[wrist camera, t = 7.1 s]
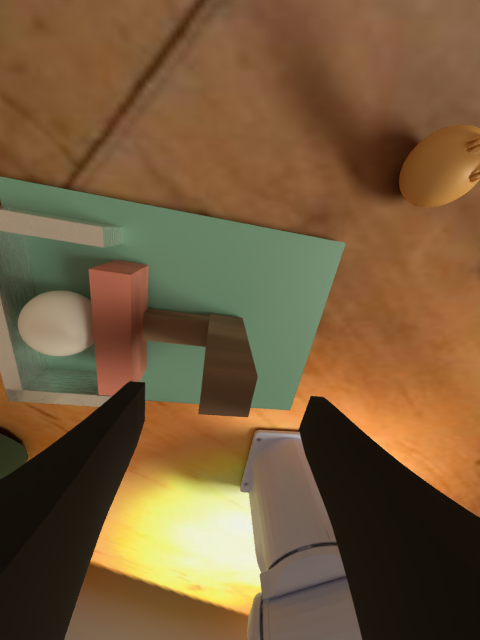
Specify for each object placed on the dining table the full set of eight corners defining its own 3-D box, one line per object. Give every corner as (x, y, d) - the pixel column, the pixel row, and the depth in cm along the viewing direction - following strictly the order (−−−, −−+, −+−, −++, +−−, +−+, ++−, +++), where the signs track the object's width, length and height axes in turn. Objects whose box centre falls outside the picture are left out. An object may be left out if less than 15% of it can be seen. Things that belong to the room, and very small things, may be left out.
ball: (33, 378, 12) (18, 346, 14) (113, 356, 15) (91, 332, 17) (18, 308, 10) (4, 284, 13) (111, 298, 13) (86, 281, 16)
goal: (125, 384, 18) (112, 407, 16) (36, 377, 17) (8, 401, 15) (122, 227, 14) (102, 227, 11) (1, 205, 13) (-47, 201, 10)
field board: (286, 402, 22) (290, 410, 21) (48, 384, 19) (39, 393, 18) (338, 242, 16) (345, 243, 15) (11, 179, 13) (-5, 175, 12)
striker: (231, 375, 18) (238, 456, 12) (119, 365, 17) (59, 450, 11) (249, 280, 15) (271, 319, 9) (115, 259, 14) (28, 288, 8)
